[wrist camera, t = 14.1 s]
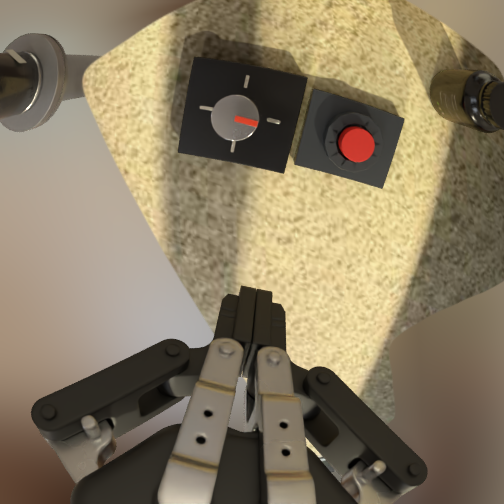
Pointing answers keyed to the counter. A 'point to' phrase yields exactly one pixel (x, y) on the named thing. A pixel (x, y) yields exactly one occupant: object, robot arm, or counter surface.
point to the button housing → (329, 129)
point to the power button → (356, 144)
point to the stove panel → (266, 95)
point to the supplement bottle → (469, 98)
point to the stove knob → (235, 117)
